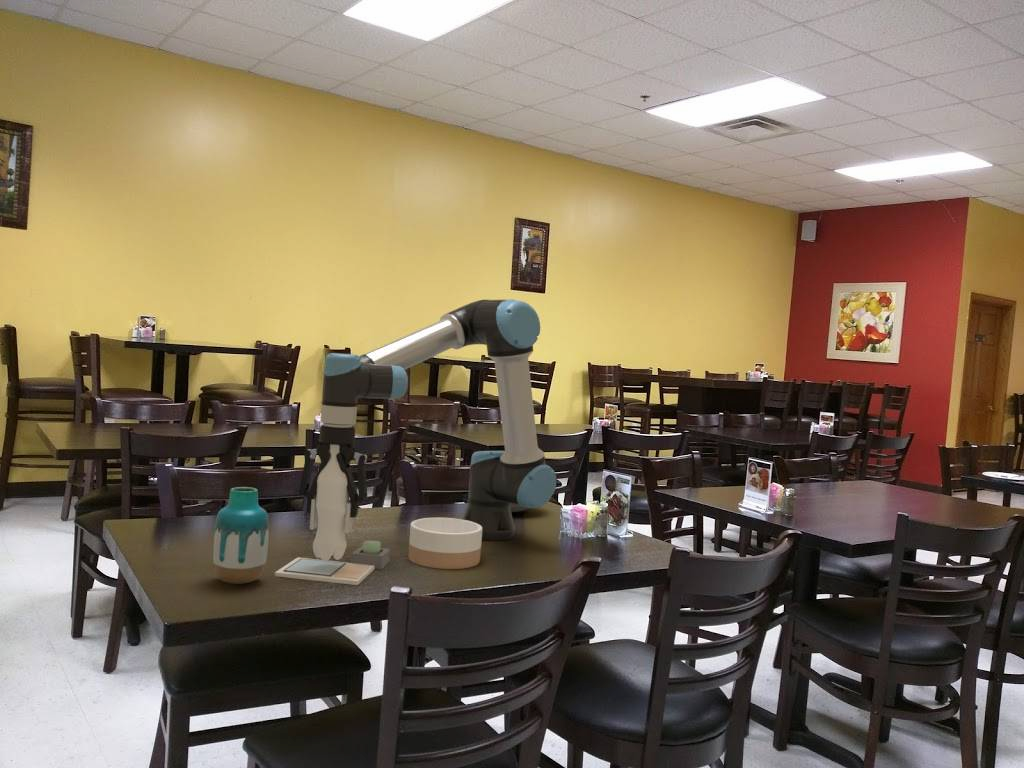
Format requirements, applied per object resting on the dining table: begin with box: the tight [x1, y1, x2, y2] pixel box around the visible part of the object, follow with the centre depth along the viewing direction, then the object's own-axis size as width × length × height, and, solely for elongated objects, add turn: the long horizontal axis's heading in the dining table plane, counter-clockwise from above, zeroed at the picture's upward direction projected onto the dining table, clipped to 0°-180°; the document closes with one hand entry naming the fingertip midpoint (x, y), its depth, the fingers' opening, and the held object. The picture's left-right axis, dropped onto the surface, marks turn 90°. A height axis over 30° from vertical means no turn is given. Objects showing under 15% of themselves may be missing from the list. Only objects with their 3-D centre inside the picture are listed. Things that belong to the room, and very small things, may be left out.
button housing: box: [350, 545, 391, 571], centre depth 190 cm, size 7×7×3 cm
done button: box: [362, 539, 382, 555], centre depth 190 cm, size 4×4×4 cm
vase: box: [212, 486, 270, 585], centre depth 170 cm, size 11×11×19 cm
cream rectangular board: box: [274, 557, 376, 586], centre depth 181 cm, size 18×13×1 cm
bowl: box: [408, 517, 482, 570], centre depth 200 cm, size 17×17×8 cm
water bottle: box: [312, 444, 350, 561], centre depth 180 cm, size 7×7×25 cm
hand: (330, 529), depth 181 cm, fingers closed on water bottle, 7 cm apart
